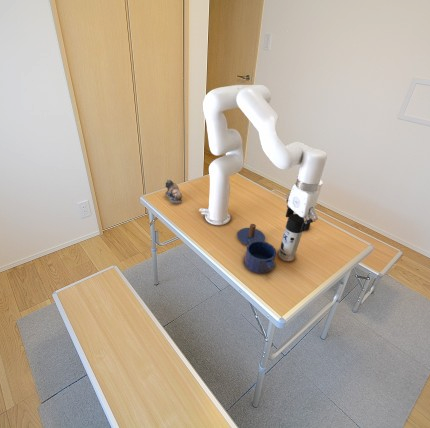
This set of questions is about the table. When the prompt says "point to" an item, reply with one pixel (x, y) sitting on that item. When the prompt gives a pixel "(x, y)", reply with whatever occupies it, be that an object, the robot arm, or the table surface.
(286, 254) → the spray can
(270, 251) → the pan
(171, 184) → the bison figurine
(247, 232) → the pan lid
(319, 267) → the table surface
